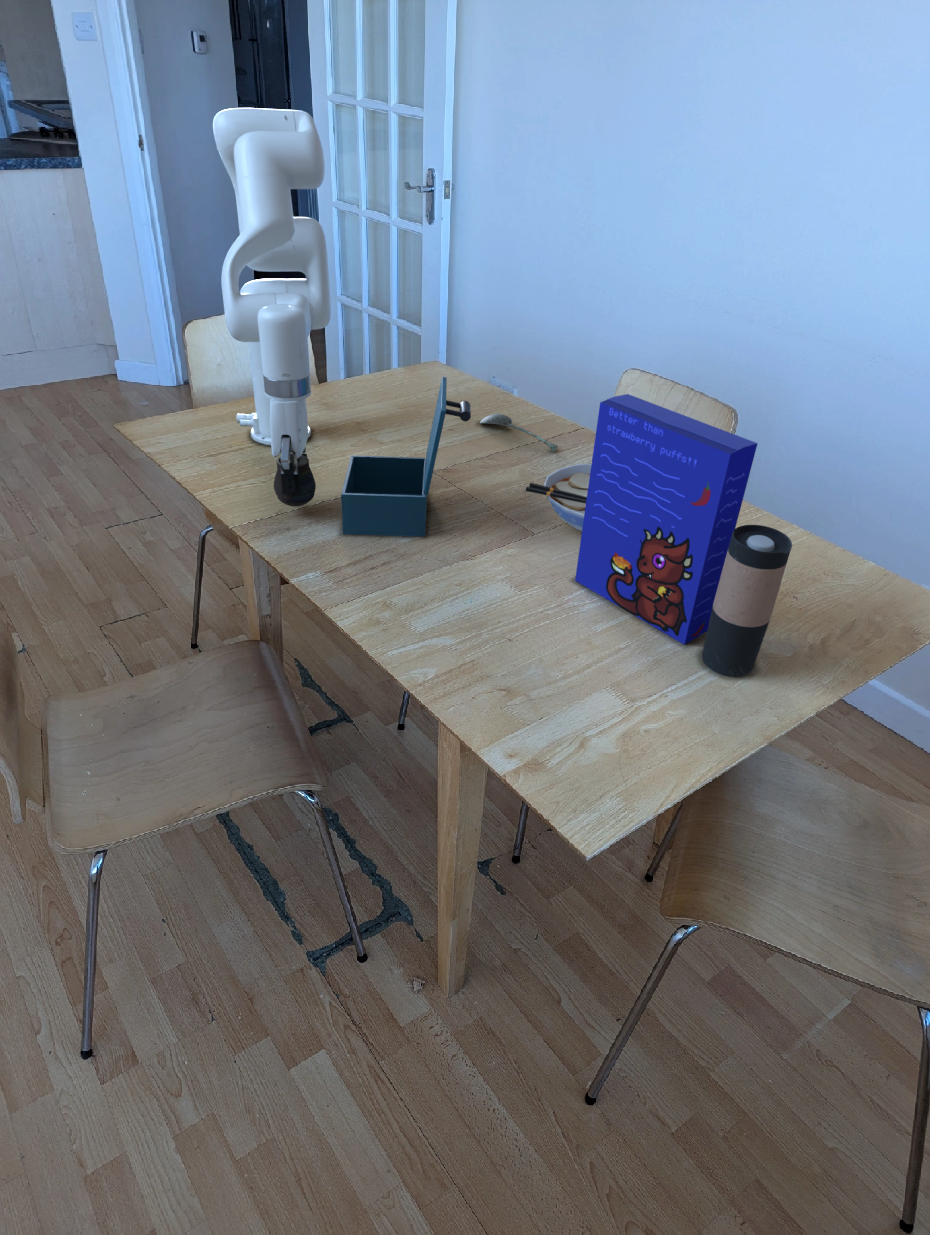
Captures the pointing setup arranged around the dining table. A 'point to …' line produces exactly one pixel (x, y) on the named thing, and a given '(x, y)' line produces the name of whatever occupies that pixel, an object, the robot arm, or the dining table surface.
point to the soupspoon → (507, 421)
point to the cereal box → (661, 513)
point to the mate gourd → (306, 483)
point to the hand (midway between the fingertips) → (295, 483)
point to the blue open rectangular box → (384, 496)
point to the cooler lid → (437, 429)
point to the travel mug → (745, 598)
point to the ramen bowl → (567, 492)
